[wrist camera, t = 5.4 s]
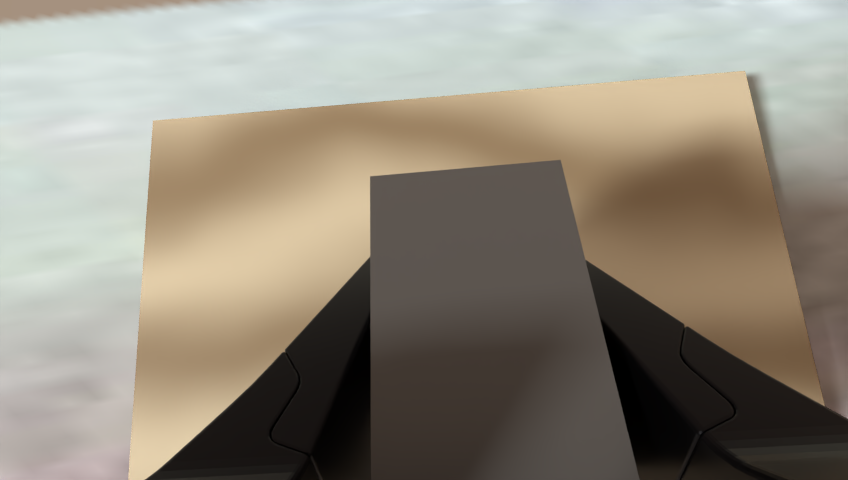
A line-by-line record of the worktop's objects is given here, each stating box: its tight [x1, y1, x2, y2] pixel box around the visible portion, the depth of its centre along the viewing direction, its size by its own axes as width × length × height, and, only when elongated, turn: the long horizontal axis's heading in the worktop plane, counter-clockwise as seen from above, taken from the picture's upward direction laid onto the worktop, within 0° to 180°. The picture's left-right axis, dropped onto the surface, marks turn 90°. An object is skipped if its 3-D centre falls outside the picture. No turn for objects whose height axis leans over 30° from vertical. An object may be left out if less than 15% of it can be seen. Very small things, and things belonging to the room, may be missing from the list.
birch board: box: [128, 71, 825, 480], centre depth 16 cm, size 20×24×2 cm
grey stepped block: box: [370, 160, 640, 480], centre depth 10 cm, size 6×6×9 cm
